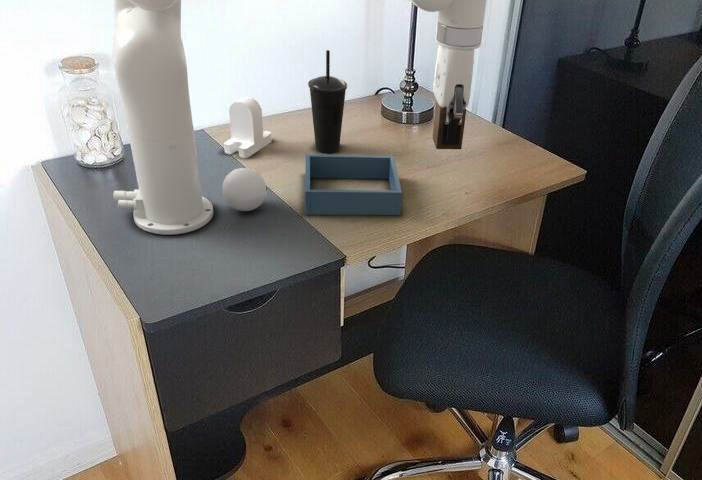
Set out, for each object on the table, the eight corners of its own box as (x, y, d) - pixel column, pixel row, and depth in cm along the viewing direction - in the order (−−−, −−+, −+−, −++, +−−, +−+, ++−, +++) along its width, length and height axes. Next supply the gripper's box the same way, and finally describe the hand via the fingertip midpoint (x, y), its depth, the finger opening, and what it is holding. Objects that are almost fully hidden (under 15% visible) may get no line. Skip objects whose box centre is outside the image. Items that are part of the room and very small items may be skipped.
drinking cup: (348, 142, 138) (351, 47, 127) (342, 158, 132) (344, 58, 120) (313, 138, 139) (312, 42, 127) (305, 153, 132) (303, 54, 121)
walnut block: (436, 149, 116) (440, 108, 112) (432, 138, 120) (436, 99, 116) (461, 149, 117) (466, 109, 113) (456, 139, 121) (461, 99, 116)
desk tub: (305, 214, 113) (305, 191, 110) (306, 176, 125) (305, 154, 122) (400, 215, 115) (402, 192, 113) (392, 177, 127) (393, 156, 124)
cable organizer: (223, 152, 130) (218, 104, 124) (250, 135, 138) (247, 89, 132) (246, 158, 129) (242, 109, 123) (272, 140, 136) (270, 94, 130)
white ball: (274, 214, 112) (272, 175, 108) (232, 222, 109) (228, 183, 105) (254, 188, 119) (252, 151, 115) (214, 195, 116) (210, 157, 111)
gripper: (429, 19, 113) (420, 119, 124) (444, 49, 100) (433, 158, 110) (471, 21, 114) (459, 120, 125) (492, 50, 101) (477, 158, 112)
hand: (447, 137), depth 118 cm, fingers closed on walnut block, 4 cm apart
